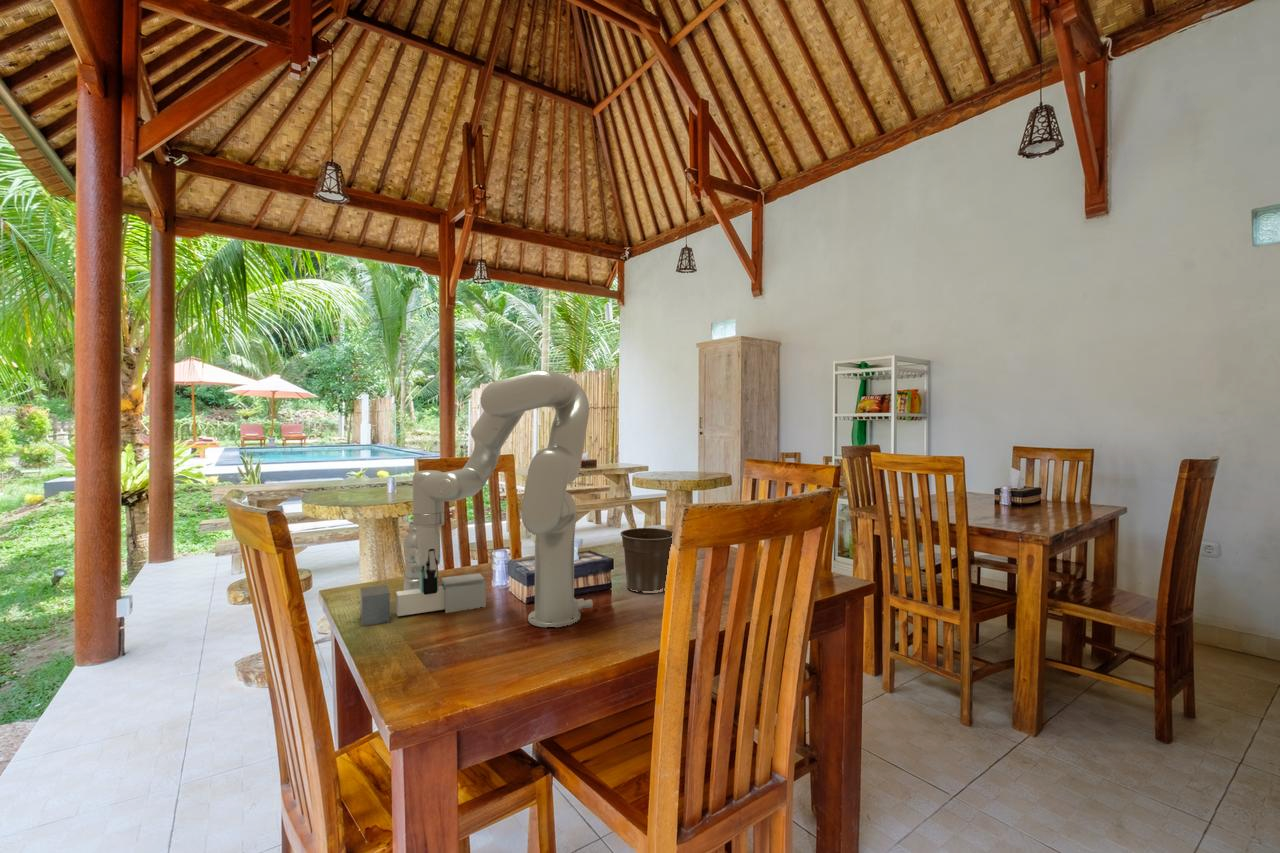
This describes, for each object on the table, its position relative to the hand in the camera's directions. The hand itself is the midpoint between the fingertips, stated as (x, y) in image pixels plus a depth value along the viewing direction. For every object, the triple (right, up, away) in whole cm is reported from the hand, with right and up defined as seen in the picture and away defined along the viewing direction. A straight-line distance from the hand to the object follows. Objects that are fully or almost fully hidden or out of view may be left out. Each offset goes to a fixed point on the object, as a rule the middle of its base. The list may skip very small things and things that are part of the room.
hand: (428, 590), depth 145 cm
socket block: (-11, -5, -6) cm, 14 cm away
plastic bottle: (-9, -5, +14) cm, 18 cm away
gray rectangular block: (+8, -5, +4) cm, 10 cm away
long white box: (+2, -5, +1) cm, 6 cm away
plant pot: (+56, -5, +20) cm, 60 cm away
